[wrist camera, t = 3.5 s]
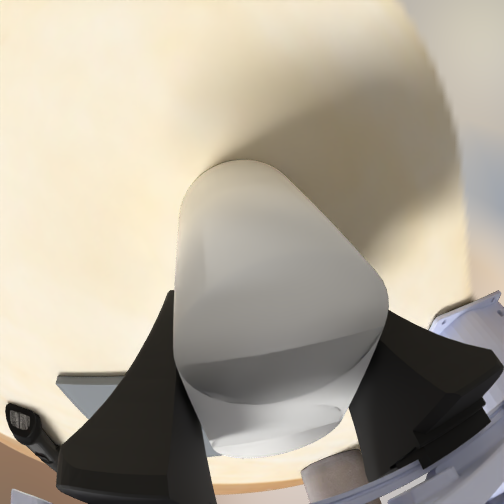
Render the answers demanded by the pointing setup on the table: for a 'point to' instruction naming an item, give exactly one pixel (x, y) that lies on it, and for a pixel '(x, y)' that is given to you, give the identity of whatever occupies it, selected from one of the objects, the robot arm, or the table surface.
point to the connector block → (269, 312)
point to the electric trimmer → (32, 434)
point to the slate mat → (100, 397)
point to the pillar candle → (335, 476)
